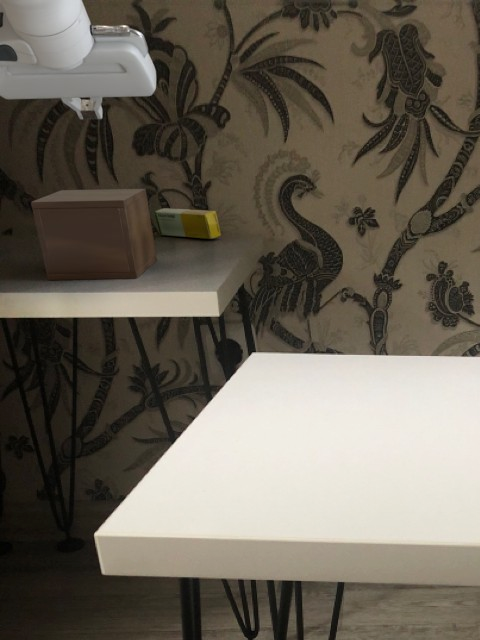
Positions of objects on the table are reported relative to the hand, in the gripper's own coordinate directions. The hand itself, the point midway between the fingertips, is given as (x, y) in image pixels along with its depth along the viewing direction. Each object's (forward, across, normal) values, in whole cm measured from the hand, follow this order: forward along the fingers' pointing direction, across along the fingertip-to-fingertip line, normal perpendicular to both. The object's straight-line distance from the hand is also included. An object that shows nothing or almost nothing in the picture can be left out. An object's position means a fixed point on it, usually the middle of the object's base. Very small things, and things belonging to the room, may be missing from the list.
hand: (91, 115), depth 123 cm
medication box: (+29, -6, -2) cm, 30 cm away
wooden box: (+9, 0, +18) cm, 20 cm away
